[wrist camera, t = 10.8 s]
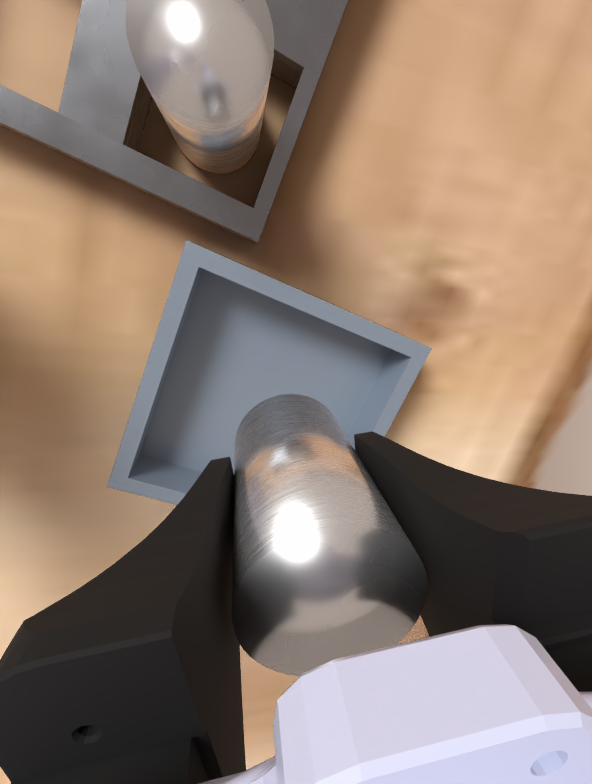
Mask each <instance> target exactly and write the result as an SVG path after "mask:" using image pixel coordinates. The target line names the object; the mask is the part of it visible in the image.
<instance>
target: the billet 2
mask: <svg viewBox="0 0 592 784" xmlns="http://www.w3.org/2000/svg"><path fill="white" fill-rule="evenodd" d="M426 595H427V576H426V571H425V568H424V565H423V563H422V561H421V559H420V557H419V556H418V554H417V552H416V551H415V549H414V547H413V546H412V544H411V542H410V541H409V539H408V537H407V536H406V534H405V532H404V531H403V529H402V527H401V526H400V524H399V523H398V521H397V519H396V518H395V516H394V514H393V513H392V511H391V509H390V508H389V506H388V504H387V503H386V501H385V499H384V498H383V496H382V494H381V493H380V491H379V490H378V488H377V486H376V485H375V483H374V481H373V480H372V478H371V476H370V475H369V473H368V471H367V470H366V468H365V466H364V465H363V463H362V462H361V460H360V458H359V457H358V455H357V453H356V452H355V450H354V448H353V447H352V445H351V443H350V442H349V440H348V438H347V437H346V435H345V433H344V432H343V430H342V429H341V427H340V425H339V424H338V422H337V420H336V419H335V417H334V415H333V414H332V413H331V411H330V410H329V409H328V408H327V407H326V406H325V405H323V404H322V403H321V402H319V401H317V400H315V399H313V398H311V397H308V396H304V395H299V394H284V395H278V396H274V397H271V398H269V399H266V400H264V401H262V402H261V403H259V404H257V405H256V406H255V407H253V408H252V409H251V410H250V411H249V412H248V413H247V414H246V416H245V417H244V418H243V420H242V421H241V423H240V425H239V427H238V429H237V433H236V436H235V455H234V512H233V570H232V625H233V629H234V633H235V635H236V638H237V640H238V642H239V643H240V645H241V646H242V648H243V649H244V650H245V651H246V653H247V654H248V655H249V656H250V657H252V658H253V659H254V660H255V661H257V662H258V663H260V664H262V665H263V666H265V667H267V668H270V669H272V670H275V671H277V672H281V673H285V674H290V675H296V676H301V675H302V674H303V673H304V672H306V671H309V670H311V669H313V668H316V667H318V666H320V665H323V664H325V663H327V662H329V661H332V660H334V659H339V658H343V657H347V656H351V655H356V654H360V653H364V652H368V651H372V650H377V649H381V648H385V647H389V646H394V645H396V644H397V643H398V642H399V641H401V640H402V639H403V638H404V637H405V635H406V634H407V633H408V632H409V631H410V630H411V628H412V627H413V625H414V624H415V623H416V621H417V619H418V618H419V616H420V614H421V612H422V609H423V606H424V604H425V600H426Z"/></svg>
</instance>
